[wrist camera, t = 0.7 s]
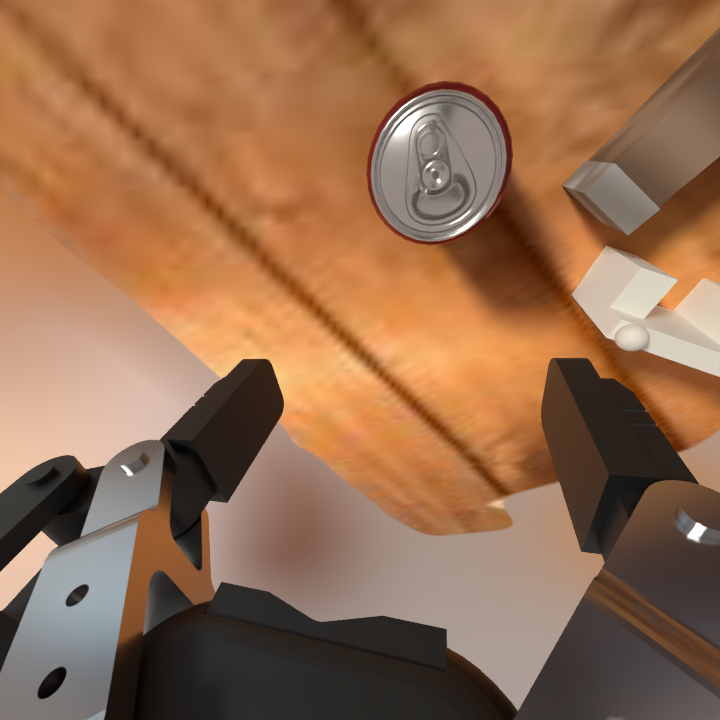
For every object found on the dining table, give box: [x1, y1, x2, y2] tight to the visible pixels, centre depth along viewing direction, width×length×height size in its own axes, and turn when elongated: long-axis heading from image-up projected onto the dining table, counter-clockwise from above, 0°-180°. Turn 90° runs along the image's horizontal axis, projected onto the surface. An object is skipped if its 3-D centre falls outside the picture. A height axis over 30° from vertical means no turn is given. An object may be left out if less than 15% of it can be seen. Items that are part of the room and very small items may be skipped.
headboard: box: [572, 245, 720, 377], centre depth 24 cm, size 5×10×10 cm, turn 75°
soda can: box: [367, 81, 513, 245], centre depth 21 cm, size 7×7×12 cm
